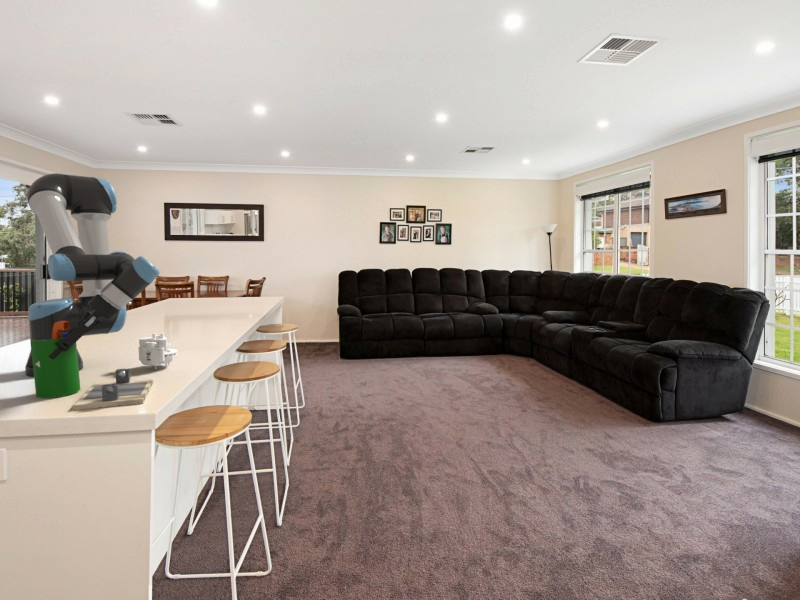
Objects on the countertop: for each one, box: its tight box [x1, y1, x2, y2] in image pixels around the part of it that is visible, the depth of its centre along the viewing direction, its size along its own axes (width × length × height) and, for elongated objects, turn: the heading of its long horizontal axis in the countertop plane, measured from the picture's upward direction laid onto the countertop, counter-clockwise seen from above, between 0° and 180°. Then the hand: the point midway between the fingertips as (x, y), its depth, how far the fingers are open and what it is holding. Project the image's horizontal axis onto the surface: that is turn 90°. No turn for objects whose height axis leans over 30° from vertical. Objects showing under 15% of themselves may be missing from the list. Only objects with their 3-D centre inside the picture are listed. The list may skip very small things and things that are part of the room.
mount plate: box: [73, 378, 154, 411], centre depth 126 cm, size 21×15×1 cm
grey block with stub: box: [115, 368, 131, 384], centre depth 133 cm, size 3×3×4 cm
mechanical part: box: [138, 332, 179, 370], centre depth 156 cm, size 11×12×12 cm
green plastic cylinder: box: [29, 321, 81, 399], centre depth 126 cm, size 10×9×20 cm
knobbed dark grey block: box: [102, 383, 119, 401], centre depth 118 cm, size 3×3×4 cm
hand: (42, 364), depth 124 cm, fingers closed on green plastic cylinder, 7 cm apart
